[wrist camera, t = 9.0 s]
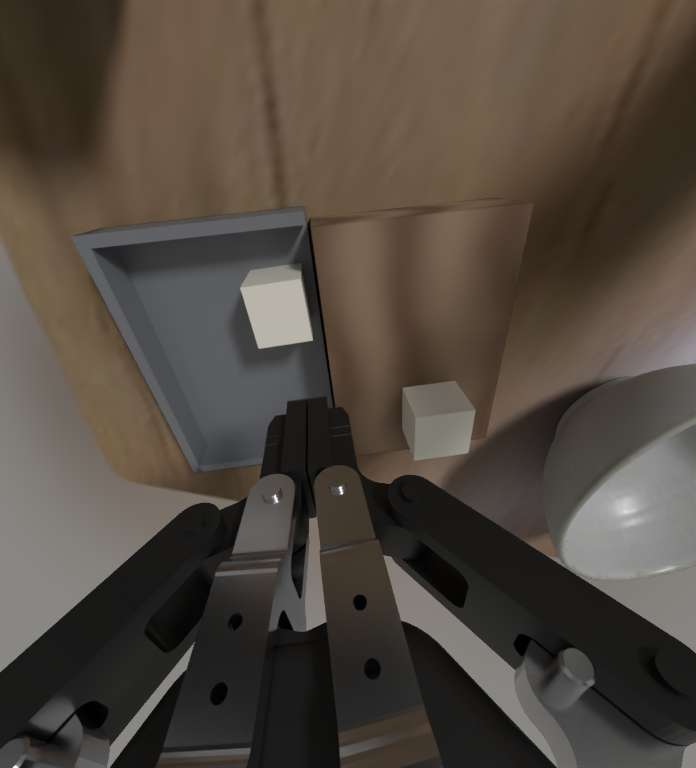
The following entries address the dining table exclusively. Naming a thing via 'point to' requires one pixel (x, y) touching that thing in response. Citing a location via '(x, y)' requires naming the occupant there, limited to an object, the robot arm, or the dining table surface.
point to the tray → (209, 325)
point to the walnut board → (417, 306)
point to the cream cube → (278, 305)
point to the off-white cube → (437, 420)
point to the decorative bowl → (626, 478)
